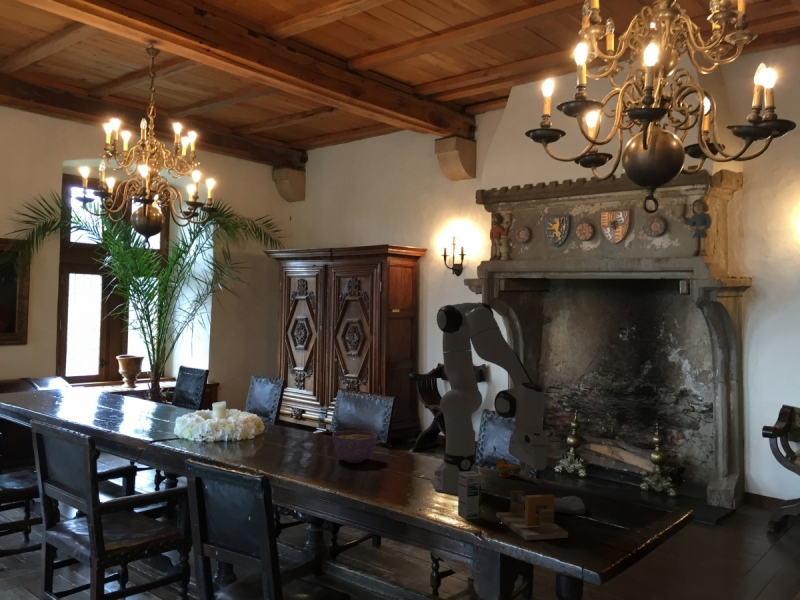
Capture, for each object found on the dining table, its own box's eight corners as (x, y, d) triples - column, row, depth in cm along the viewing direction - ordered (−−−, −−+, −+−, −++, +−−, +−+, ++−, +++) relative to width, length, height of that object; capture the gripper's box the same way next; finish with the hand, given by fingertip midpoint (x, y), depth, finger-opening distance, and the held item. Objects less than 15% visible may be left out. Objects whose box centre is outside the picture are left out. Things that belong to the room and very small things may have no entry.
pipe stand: (496, 517, 219) (497, 491, 219) (534, 514, 223) (535, 489, 223) (526, 540, 198) (527, 512, 198) (567, 537, 202) (568, 509, 202)
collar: (524, 524, 205) (525, 495, 205) (550, 522, 207) (551, 494, 207) (527, 526, 203) (528, 497, 203) (553, 524, 205) (554, 496, 206)
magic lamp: (519, 482, 264) (520, 455, 264) (485, 472, 277) (486, 446, 277) (530, 479, 268) (531, 452, 268) (496, 470, 282) (497, 444, 282)
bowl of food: (376, 456, 301) (377, 431, 301) (376, 467, 281) (377, 440, 281) (332, 455, 300) (333, 429, 300) (329, 465, 280) (330, 438, 280)
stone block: (587, 520, 225) (578, 505, 235) (588, 507, 225) (579, 493, 234) (553, 520, 225) (545, 506, 235) (554, 507, 224) (546, 493, 234)
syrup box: (465, 520, 215) (467, 475, 215) (457, 514, 220) (458, 471, 220) (480, 518, 217) (482, 474, 217) (472, 513, 222) (473, 470, 222)
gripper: (505, 426, 222) (502, 466, 223) (534, 441, 203) (530, 485, 203) (522, 426, 224) (519, 466, 224) (552, 441, 204) (548, 485, 205)
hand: (524, 475), depth 213 cm, fingers closed
